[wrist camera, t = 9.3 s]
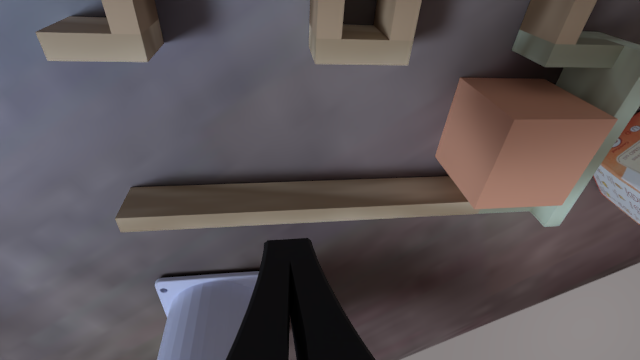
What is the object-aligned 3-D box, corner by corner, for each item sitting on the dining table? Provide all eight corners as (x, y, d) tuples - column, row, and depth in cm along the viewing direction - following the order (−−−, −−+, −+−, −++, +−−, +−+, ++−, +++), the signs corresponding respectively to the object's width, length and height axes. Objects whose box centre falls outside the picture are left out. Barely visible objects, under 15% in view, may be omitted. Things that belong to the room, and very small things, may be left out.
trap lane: (519, 185, 23) (559, 225, 20) (135, 200, 20) (111, 252, 17) (697, -159, 13) (835, -187, 10) (-26, -248, 10) (-167, -333, 7)
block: (507, 154, 22) (561, 205, 18) (434, 155, 21) (474, 209, 17) (543, 78, 19) (618, 119, 15) (459, 77, 18) (514, 119, 14)
